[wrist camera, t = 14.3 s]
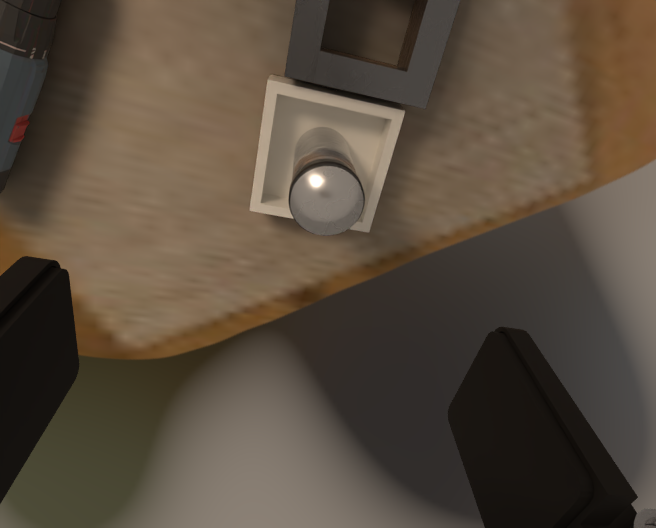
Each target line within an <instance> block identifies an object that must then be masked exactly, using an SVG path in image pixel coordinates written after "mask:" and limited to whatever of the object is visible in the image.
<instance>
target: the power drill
mask: <svg viewBox="0 0 656 528" xmlns="http://www.w3.org/2000/svg"><path fill="white" fill-rule="evenodd" d="M60 3H61V0H0V193H1V192H2V191H3V190H4V188H5V185H6V182H7V179H8V176H9V173H10V171H11V168H12V165H13V162H14V160H15V157H16V154H17V152H18V149H19V147H20V144H21V141H22V139H23V138H24V137H25V136H24V132H25V130H26V127H27V126H28V125H29V123H30V122H29V121H28V119H29V116H30V114H31V113H32V112H33V110H34V107H35V104H36V102H37V99H38V96H39V93H40V91H41V88H42V85H43V82H44V79H45V77H46V73H47V68H48V61H47V56H48V53H49V50H50V47H51V45H52V42H53V37H54V31H55V26H56V21H57V17H56V14H57V11H58V8H59V6H60Z"/></svg>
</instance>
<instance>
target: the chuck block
mask: <svg viewBox="0 0 656 528" xmlns="http://www.w3.org/2000/svg"><path fill="white" fill-rule="evenodd" d="M459 3H460V0H415V3H414V7H413V10H412V14H411V17H410V21H409V25H408V28H407V32H406V36H405V39H404V43H403V46H402V50H401V54H400V57H399V61H398V64H397V66H396V65H392V64H387V63H383V62H379V61H375V60H371V59H367V58H363V57H359V56H355V55H351V54H347V53H343V52H339V51H334V50H330V49H326V48H322V47H321V42H322V37H323V32H324V26H325V21H326V16H327V11H328V5H329V0H296V5H295V12H294V18H293V25H292V31H291V37H290V44H289V50H288V56H287V63H286V69H285V77H290V78H294V79H298V80H303V81H307V82H311V83H316V84H320V85H324V86H328V87H333V88H337V89H341V90H346V91H350V92H354V93H359V94H363V95H367V96H371V97H376V98H380V99H384V100H389V101H393V102H397V103H402V104H406V105H410V106H415V107H419V108H423V109H426V106H427V102H428V99H429V96H430V93H431V90H432V87H433V84H434V81H435V78H436V74H437V71H438V68H439V65H440V62H441V59H442V56H443V53H444V50H445V46H446V43H447V40H448V37H449V34H450V31H451V28H452V25H453V22H454V19H455V15H456V12H457V9H458V6H459Z"/></svg>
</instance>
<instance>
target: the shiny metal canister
mask: <svg viewBox="0 0 656 528" xmlns="http://www.w3.org/2000/svg"><path fill="white" fill-rule="evenodd" d="M364 204H365V194H364V190H363V187H362V183H361V181H360V178H359V177H358V175H357V173H356V170H355V167H354V164H353V160H352V157H351V154H350V150H349V147H348V144H347V142H346V140H345V139H344V137H343V136H342V135H341V134H340V133H339V132H337V131H336V130H334V129H332V128H328V127H316V128H312V129H310V130H308V131H306V132H305V133H304V134H303V135H302V136H301V137H300V138H299V140H298V142H297V144H296V146H295V152H294V163H293V174H292V182H291V185H290V189H289V208H290V212H291V214H292V216H293V218H294V219H295V221H296V222H297V223H298V224H299V225H300V226H301V227H302V228H303V229H305V230H307V231H309V232H311V233H313V234H317V235H323V236H329V235H335V234H339V233H342V232H344V231H346V230H347V229H349V228H350V227H352V226H353V225H354V224H355V223H356V222H357V220H358V219H359V218H360V216H361V214H362V212H363V209H364Z"/></svg>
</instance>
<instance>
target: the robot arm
mask: <svg viewBox="0 0 656 528" xmlns="http://www.w3.org/2000/svg"><path fill="white" fill-rule="evenodd" d="M78 370H79V358H78V349H77V341H76V332H75V323H74V315H73V306H72V298H71V289H70V280H69V274H68V271H67V270H65V269H61V268H60V265H59V263H58V262H57V261H55V260H48V259H41V258H35V257H28V256H25V257H22V258H20V259H19V260H18V261H16V262H15V263H14V264H13V265H12V266H11V267H10V268H9V269H8V270H6V271H5V272H4V273H3V274H2V275H1V276H0V503H1V502H2V500H3V498H4V497H5V495H6V494H7V492H8V490H9V489H10V487H11V485H12V483H13V482H14V480H15V478H16V477H17V475H18V474H19V472H20V470H21V469H22V467H23V465H24V464H25V462H26V460H27V459H28V457H29V456H30V454H31V452H32V450H33V449H34V447H35V445H36V444H37V442H38V441H39V439H40V437H41V436H42V434H43V432H44V431H45V429H46V427H47V426H48V424H49V422H50V421H51V419H52V417H53V416H54V414H55V413H56V411H57V409H58V408H59V406H60V404H61V402H62V401H63V399H64V397H65V396H66V394H67V393H68V391H69V389H70V388H71V386H72V384H73V383H74V381H75V379H76V377H77V374H78ZM448 420H449V423H450V427H451V430H452V432H453V435H454V438H455V441H456V444H457V447H458V450H459V453H460V456H461V459H462V461H463V465H464V467H465V470H466V474H467V477H468V479H469V482H470V485H471V488H472V491H473V494H474V497H475V500H476V503H477V506H478V509H479V511H480V514H481V518H482V520H483V523H484V526H485V528H656V509H643V510H641V511H640V512H638V513H636V511H635V509H634V508H633V506H632V505H631V503H632V502H633V501H634V500H636V499H637V498H638V497H637V495H636V494H635V492H634V491H633V489H632V488H631V486H630V485H629V483H628V482H627V480H626V479H625V477H624V476H623V474H622V473H621V471H620V470H619V468H618V467H617V465H616V464H615V462H614V461H613V460H612V458H611V456H610V455H609V453H608V452H607V450H606V449H605V447H604V446H603V444H602V443H601V441H600V440H599V438H598V437H597V435H596V434H595V432H594V431H593V429H592V428H591V426H590V425H589V423H588V422H587V420H586V419H585V418H584V416H583V415H582V413H581V411H580V410H579V408H578V407H577V405H576V404H575V403H574V401H573V400H572V398H571V396H570V395H569V394H568V392H567V391H566V389H565V388H564V386H563V385H562V383H561V382H560V380H559V379H558V377H557V376H556V374H555V373H554V371H553V370H552V368H551V367H550V365H549V364H548V362H547V361H546V359H545V358H544V356H543V355H542V353H541V352H540V350H539V349H538V347H537V346H536V344H535V343H534V341H533V340H532V338H531V337H530V335H529V334H528V333H527V332H526V331H524V330H520V329H514V328H507V327H499V328H497V329H496V330H495V331H494V332H490V333H489V334H488V336H487V337H486V339H485V341H484V343H483V345H482V347H481V348H480V350H479V352H478V354H477V356H476V358H475V359H474V361H473V363H472V365H471V367H470V369H469V371H468V373H467V374H466V376H465V378H464V380H463V382H462V384H461V386H460V388H459V389H458V391H457V393H456V395H455V397H454V399H453V400H452V402H451V404H450V406H449V410H448Z"/></svg>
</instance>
